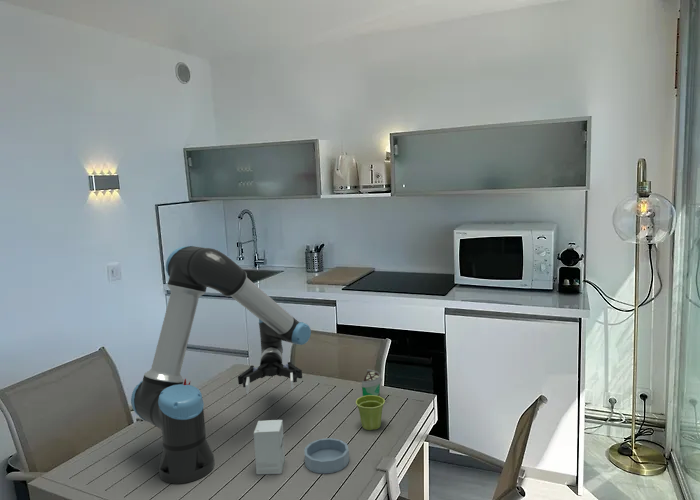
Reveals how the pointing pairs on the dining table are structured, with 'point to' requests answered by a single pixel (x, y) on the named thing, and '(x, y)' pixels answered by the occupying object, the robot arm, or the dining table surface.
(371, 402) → the plant pot
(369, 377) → the food container
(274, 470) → the supplement box
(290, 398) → the dining table surface
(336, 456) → the bowl
